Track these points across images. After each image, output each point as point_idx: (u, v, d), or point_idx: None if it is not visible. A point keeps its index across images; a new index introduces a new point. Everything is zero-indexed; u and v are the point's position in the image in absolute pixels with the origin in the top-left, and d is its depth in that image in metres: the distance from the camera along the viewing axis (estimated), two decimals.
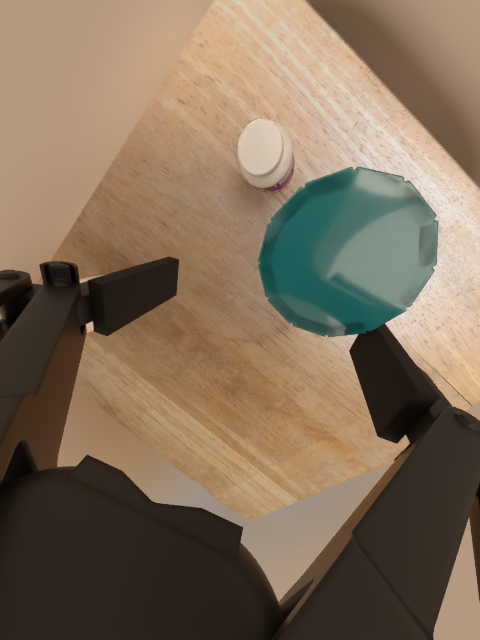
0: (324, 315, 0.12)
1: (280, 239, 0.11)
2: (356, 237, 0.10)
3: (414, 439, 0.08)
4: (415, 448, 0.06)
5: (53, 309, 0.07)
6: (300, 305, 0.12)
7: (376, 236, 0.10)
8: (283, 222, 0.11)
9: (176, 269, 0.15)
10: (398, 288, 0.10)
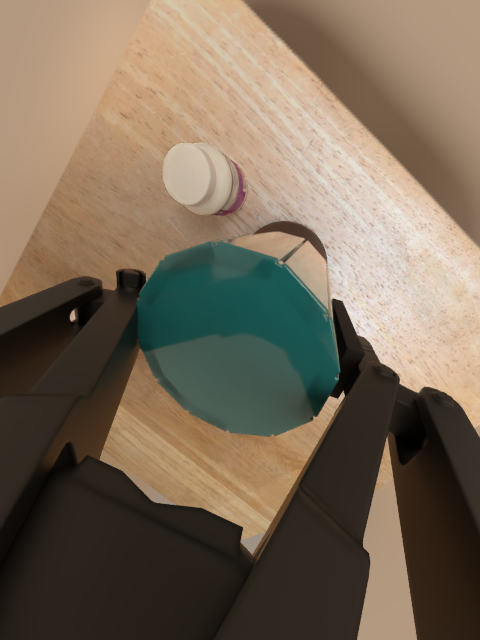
0: (219, 408, 0.09)
1: (153, 317, 0.09)
2: (235, 326, 0.07)
3: (347, 393, 0.09)
4: (345, 400, 0.07)
5: (119, 312, 0.08)
6: (191, 393, 0.10)
7: (258, 328, 0.07)
8: (150, 299, 0.08)
9: None
10: (297, 393, 0.08)
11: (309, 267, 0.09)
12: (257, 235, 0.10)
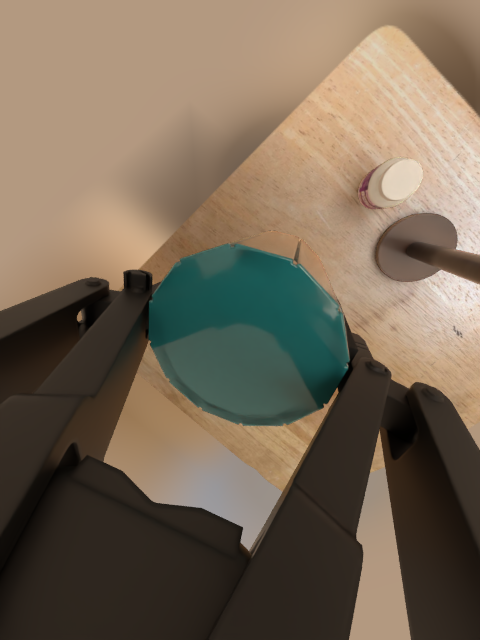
0: (233, 403, 0.10)
1: (166, 319, 0.09)
2: (250, 324, 0.08)
3: (340, 389, 0.09)
4: (339, 396, 0.07)
5: (126, 313, 0.08)
6: (205, 390, 0.10)
7: (273, 324, 0.08)
8: (164, 300, 0.08)
9: None
10: (309, 383, 0.08)
11: (313, 265, 0.09)
12: (260, 235, 0.10)
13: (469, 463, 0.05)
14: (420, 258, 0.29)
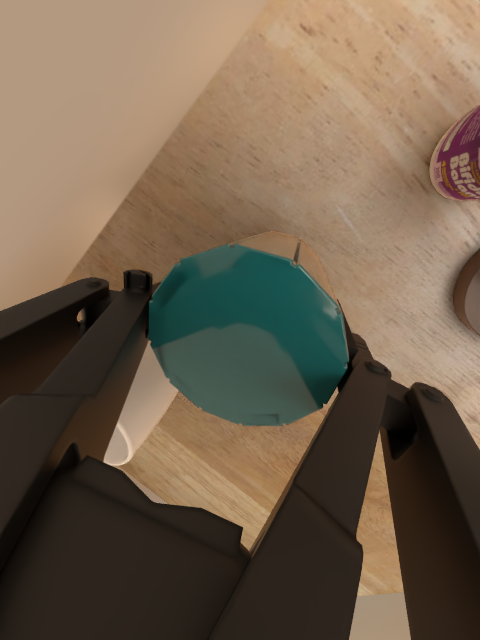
0: (233, 403, 0.10)
1: (166, 319, 0.09)
2: (250, 324, 0.08)
3: (340, 389, 0.09)
4: (339, 396, 0.07)
5: (126, 313, 0.08)
6: (204, 390, 0.10)
7: (273, 324, 0.08)
8: (164, 301, 0.09)
9: None
10: (309, 383, 0.08)
11: (313, 266, 0.09)
12: (260, 236, 0.10)
13: (469, 463, 0.05)
14: None
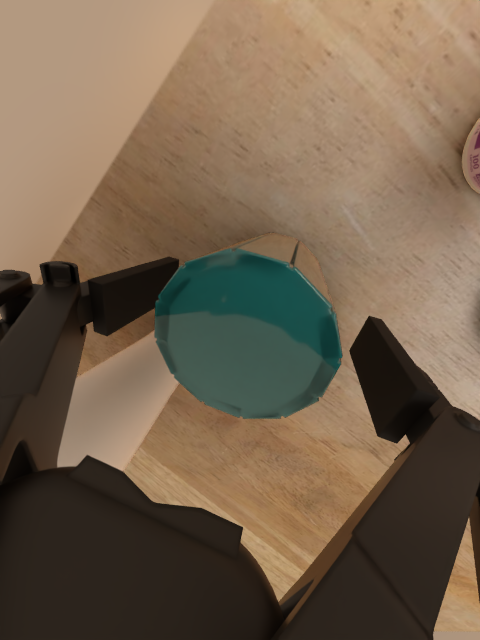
0: (234, 397, 0.10)
1: (171, 318, 0.09)
2: (250, 322, 0.08)
3: (414, 439, 0.08)
4: (415, 448, 0.06)
5: (53, 309, 0.07)
6: (207, 385, 0.11)
7: (271, 323, 0.08)
8: (170, 301, 0.09)
9: (176, 269, 0.15)
10: (305, 378, 0.09)
11: (309, 267, 0.10)
12: (260, 239, 0.11)
13: None
14: None
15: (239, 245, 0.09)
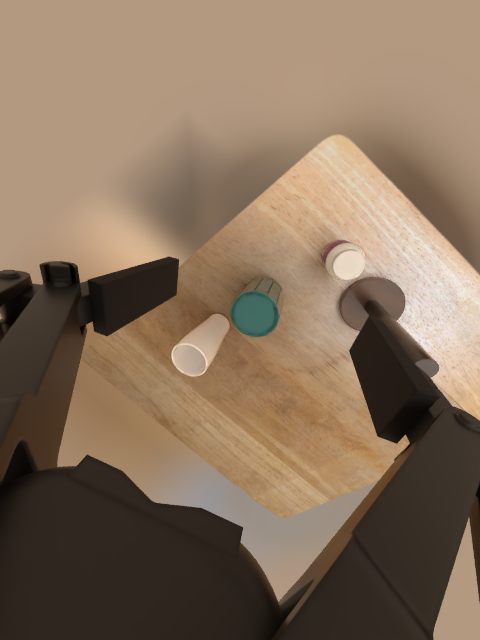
0: (252, 330, 0.36)
1: (236, 307, 0.36)
2: (257, 307, 0.35)
3: (414, 439, 0.08)
4: (415, 448, 0.06)
5: (53, 309, 0.07)
6: (244, 326, 0.37)
7: (262, 307, 0.34)
8: (236, 302, 0.35)
9: (176, 269, 0.15)
10: (271, 322, 0.35)
11: (273, 293, 0.36)
12: (259, 284, 0.37)
13: None
14: None
15: (254, 288, 0.35)
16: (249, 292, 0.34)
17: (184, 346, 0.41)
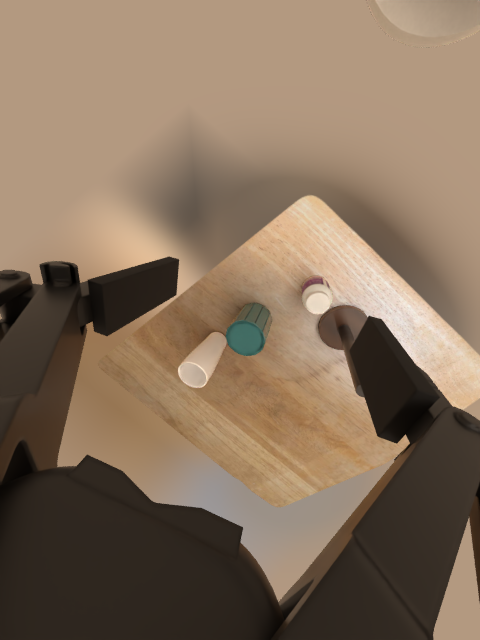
0: (243, 350, 0.44)
1: (230, 332, 0.43)
2: (247, 333, 0.43)
3: (414, 439, 0.08)
4: (415, 448, 0.06)
5: (53, 309, 0.07)
6: (237, 347, 0.45)
7: (251, 333, 0.42)
8: (230, 328, 0.43)
9: (176, 269, 0.15)
10: (259, 344, 0.43)
11: (260, 321, 0.44)
12: (250, 312, 0.45)
13: None
14: (341, 342, 0.42)
15: (245, 317, 0.43)
16: (240, 321, 0.42)
17: None
